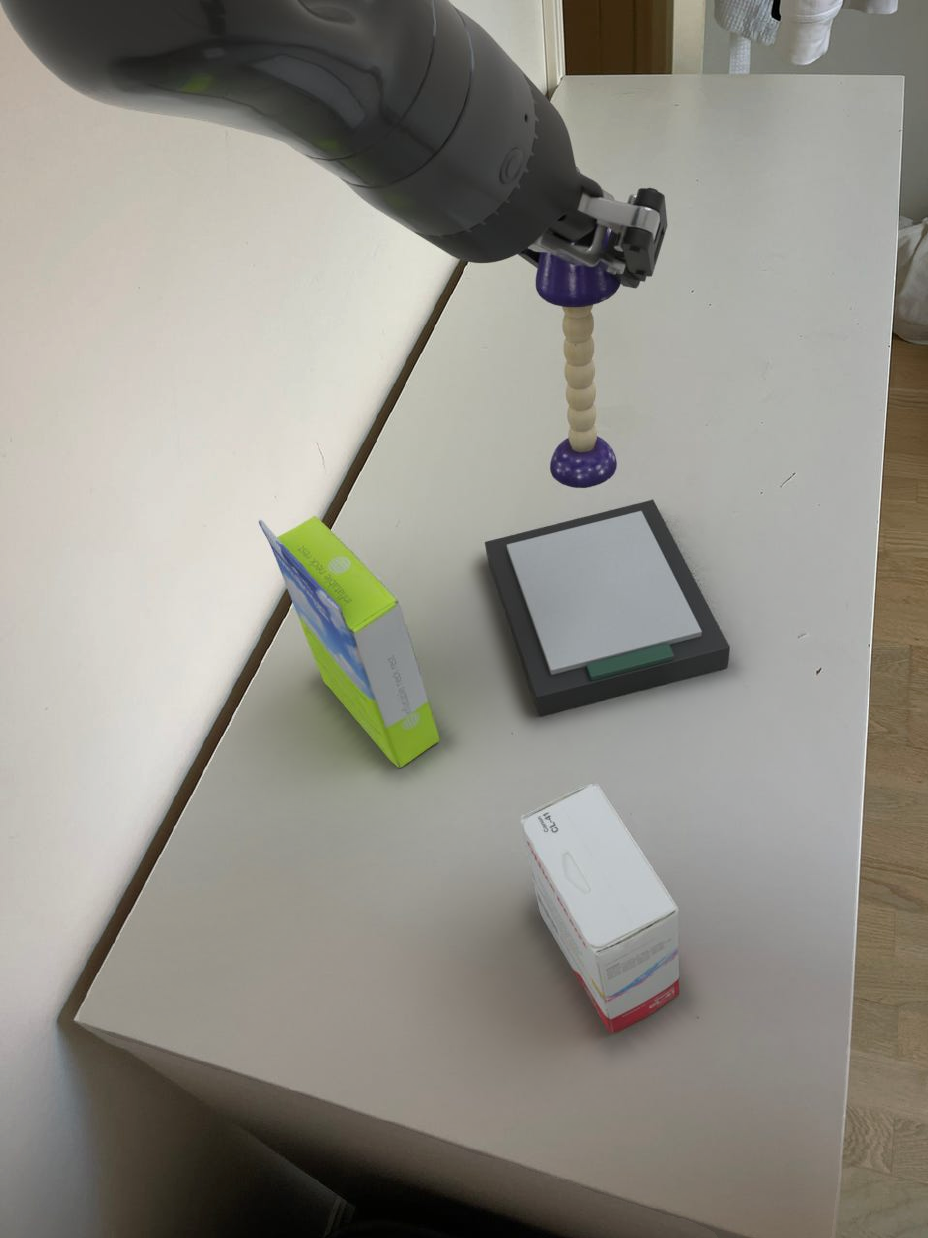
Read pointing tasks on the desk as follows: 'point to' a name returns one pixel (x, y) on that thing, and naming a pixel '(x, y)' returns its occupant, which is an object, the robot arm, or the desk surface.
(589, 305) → the toy lamp
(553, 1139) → the desk surface
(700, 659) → the scale
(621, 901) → the ink box
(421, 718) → the box
